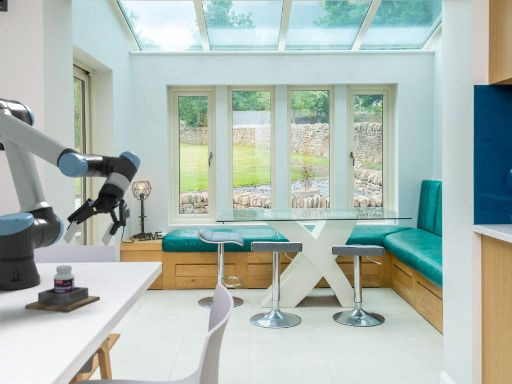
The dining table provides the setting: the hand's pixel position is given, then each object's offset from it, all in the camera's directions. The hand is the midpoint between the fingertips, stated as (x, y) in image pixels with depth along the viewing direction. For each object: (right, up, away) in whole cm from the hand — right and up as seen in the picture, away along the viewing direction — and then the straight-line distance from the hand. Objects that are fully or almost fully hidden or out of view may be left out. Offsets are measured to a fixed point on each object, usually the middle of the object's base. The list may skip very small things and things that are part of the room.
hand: (85, 241), depth 150 cm
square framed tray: (-3, -17, -9) cm, 19 cm away
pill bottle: (-3, -16, -9) cm, 18 cm away
